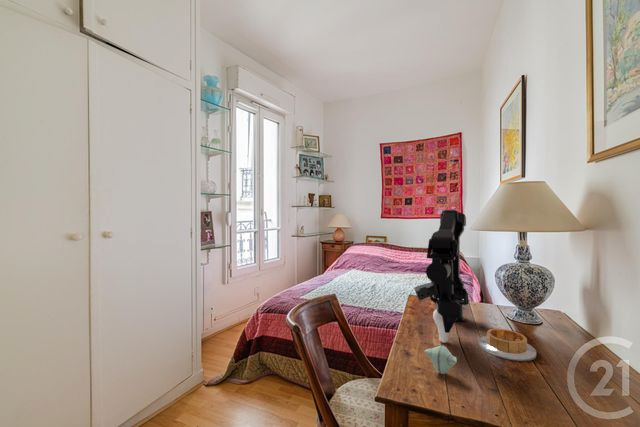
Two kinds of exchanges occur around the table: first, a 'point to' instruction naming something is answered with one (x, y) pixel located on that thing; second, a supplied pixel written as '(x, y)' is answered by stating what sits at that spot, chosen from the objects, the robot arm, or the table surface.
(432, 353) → the robot head
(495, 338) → the wooden ring on plate
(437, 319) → the lightbulb
